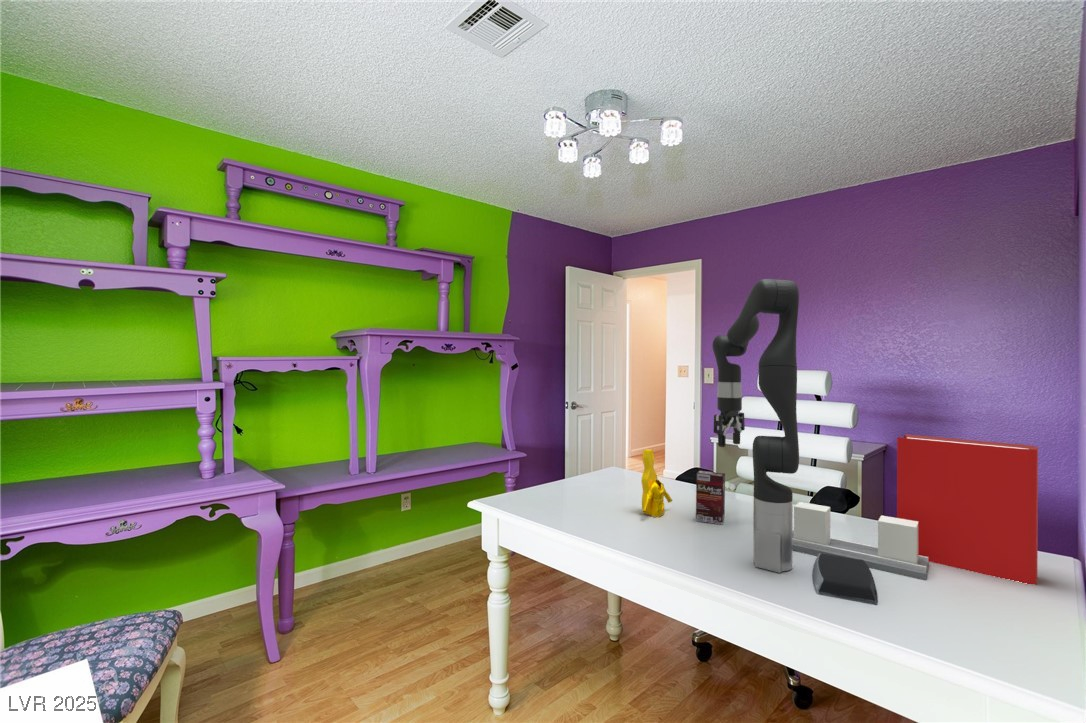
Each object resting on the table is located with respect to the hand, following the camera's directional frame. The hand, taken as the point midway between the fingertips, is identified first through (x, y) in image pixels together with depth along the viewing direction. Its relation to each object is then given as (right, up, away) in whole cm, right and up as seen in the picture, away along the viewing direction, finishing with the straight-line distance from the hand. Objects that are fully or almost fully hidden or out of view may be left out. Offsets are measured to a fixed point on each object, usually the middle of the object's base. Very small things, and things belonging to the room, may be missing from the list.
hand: (729, 445), depth 166 cm
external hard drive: (+11, -26, -45) cm, 53 cm away
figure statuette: (-23, -25, +8) cm, 35 cm away
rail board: (+23, -25, -29) cm, 45 cm away
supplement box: (-6, -25, 0) cm, 26 cm away
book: (+48, -25, -35) cm, 64 cm away
